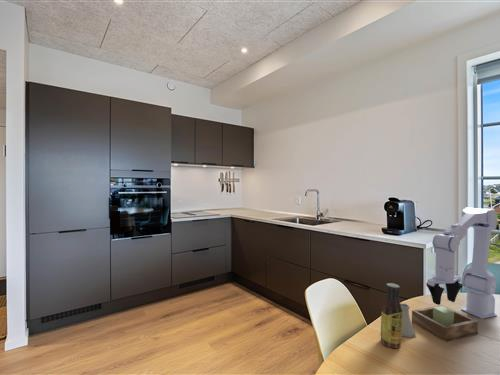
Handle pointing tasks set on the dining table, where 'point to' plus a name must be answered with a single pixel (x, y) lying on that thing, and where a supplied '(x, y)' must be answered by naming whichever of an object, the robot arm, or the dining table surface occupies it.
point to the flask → (406, 322)
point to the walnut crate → (457, 330)
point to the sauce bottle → (391, 317)
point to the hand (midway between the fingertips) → (443, 302)
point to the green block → (443, 315)
